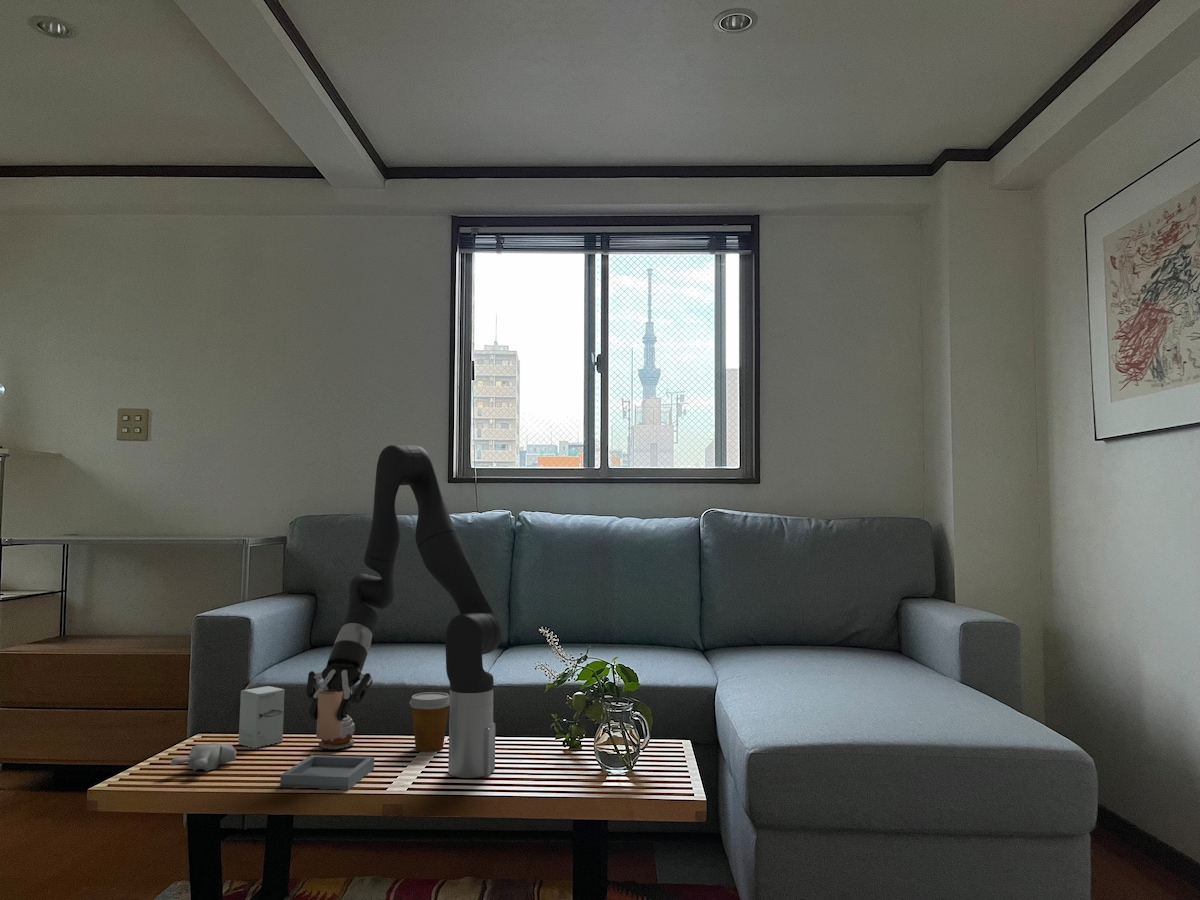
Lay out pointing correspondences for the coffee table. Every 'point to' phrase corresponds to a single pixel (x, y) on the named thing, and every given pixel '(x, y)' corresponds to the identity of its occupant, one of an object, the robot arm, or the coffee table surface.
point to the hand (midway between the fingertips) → (326, 717)
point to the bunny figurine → (207, 756)
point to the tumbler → (329, 714)
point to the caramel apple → (345, 739)
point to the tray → (327, 772)
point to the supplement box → (261, 716)
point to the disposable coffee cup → (429, 720)
